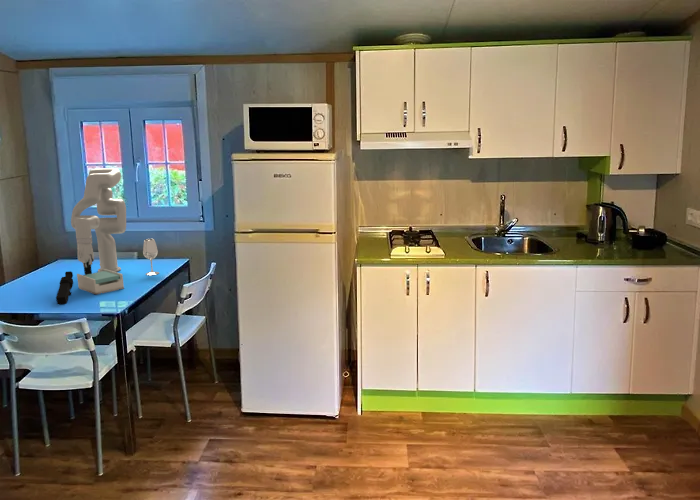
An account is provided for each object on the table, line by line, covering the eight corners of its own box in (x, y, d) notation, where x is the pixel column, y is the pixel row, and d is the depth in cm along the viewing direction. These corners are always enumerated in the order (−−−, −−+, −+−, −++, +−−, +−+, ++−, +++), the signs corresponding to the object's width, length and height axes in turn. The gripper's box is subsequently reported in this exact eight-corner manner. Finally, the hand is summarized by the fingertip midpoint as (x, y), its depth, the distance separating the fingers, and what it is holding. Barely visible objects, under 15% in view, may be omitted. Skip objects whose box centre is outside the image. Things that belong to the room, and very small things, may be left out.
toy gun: (77, 284, 312) (74, 268, 307) (69, 312, 291) (66, 294, 286) (65, 285, 311) (62, 269, 306) (57, 313, 290) (53, 295, 285)
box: (78, 288, 317) (76, 273, 315) (106, 282, 327) (104, 268, 326) (95, 294, 303) (94, 279, 302) (123, 288, 314) (122, 274, 312)
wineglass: (155, 275, 341) (152, 241, 336) (142, 275, 342) (139, 240, 338) (162, 272, 348) (159, 238, 344) (149, 272, 350) (146, 238, 346)
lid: (81, 279, 315) (80, 275, 315) (105, 274, 324) (104, 270, 324) (94, 284, 304) (94, 280, 304) (119, 279, 314) (118, 275, 313)
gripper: (71, 240, 322) (75, 273, 326) (83, 243, 312) (87, 277, 316) (85, 238, 327) (89, 271, 331) (97, 241, 317) (101, 275, 321)
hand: (88, 274), depth 323 cm, fingers closed
